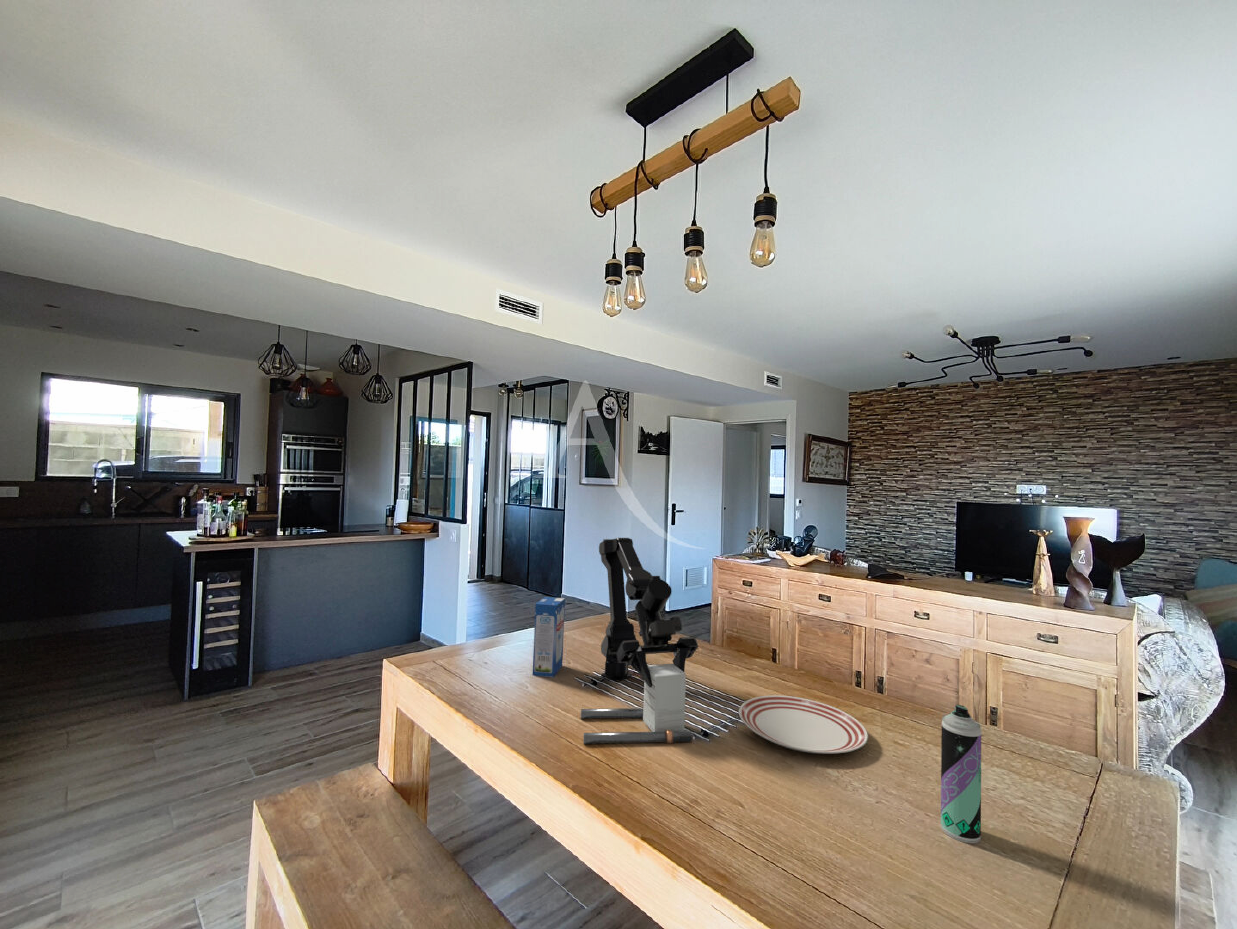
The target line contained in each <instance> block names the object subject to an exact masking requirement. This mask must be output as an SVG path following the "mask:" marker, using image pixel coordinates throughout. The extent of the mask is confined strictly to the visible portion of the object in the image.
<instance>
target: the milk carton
mask: <svg viewBox="0 0 1237 929" xmlns="http://www.w3.org/2000/svg"><path fill="white" fill-rule="evenodd" d="M565 609H566V597H552V596H544V597H543V598H542V599H540V600H539V601H537V602H536V603H535V609H534V610H535V611H534V629H533V630H534V633H533V634H534V635H533V651H532V652H533V654H532V655H533V656H532V658H533V659H532V676H539V677H550V678H555V676H556V675H557V674H558V672H559V671H560V669H561V668H562V667H563V660H564V658H563V657H564V634H565V630H564V629H565V614H566V613H565V612H566V610H565ZM561 666H562V667H561ZM556 673H557V674H556Z"/></svg>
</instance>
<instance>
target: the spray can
mask: <svg viewBox="0 0 1237 929" xmlns="http://www.w3.org/2000/svg"><path fill="white" fill-rule="evenodd" d="M954 709H955V710H953V711H951V713H950V714H946V715H943V716H942V721H941V740H940V741H941V743H940V744H941V745H940V746H941V748H940V749H941V750H940V752H941V753H940V755H941V757H940V763H941V764H940V766H941V767H940V772H941V773H940V828H941V830H942V831H943V832H944V834H946V835H947V836H949V837H950V838H952V839H953V840H956V841H959V842H962V843H966V844H977V843H980V841H981V839H982V730H981V728H982V726H981V724H980V723H979V722H977V721H975V719H973V718H972V715H970V713H969V710H968V708H967V707H966V706H964V705H961V704H955V706H954Z"/></svg>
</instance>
